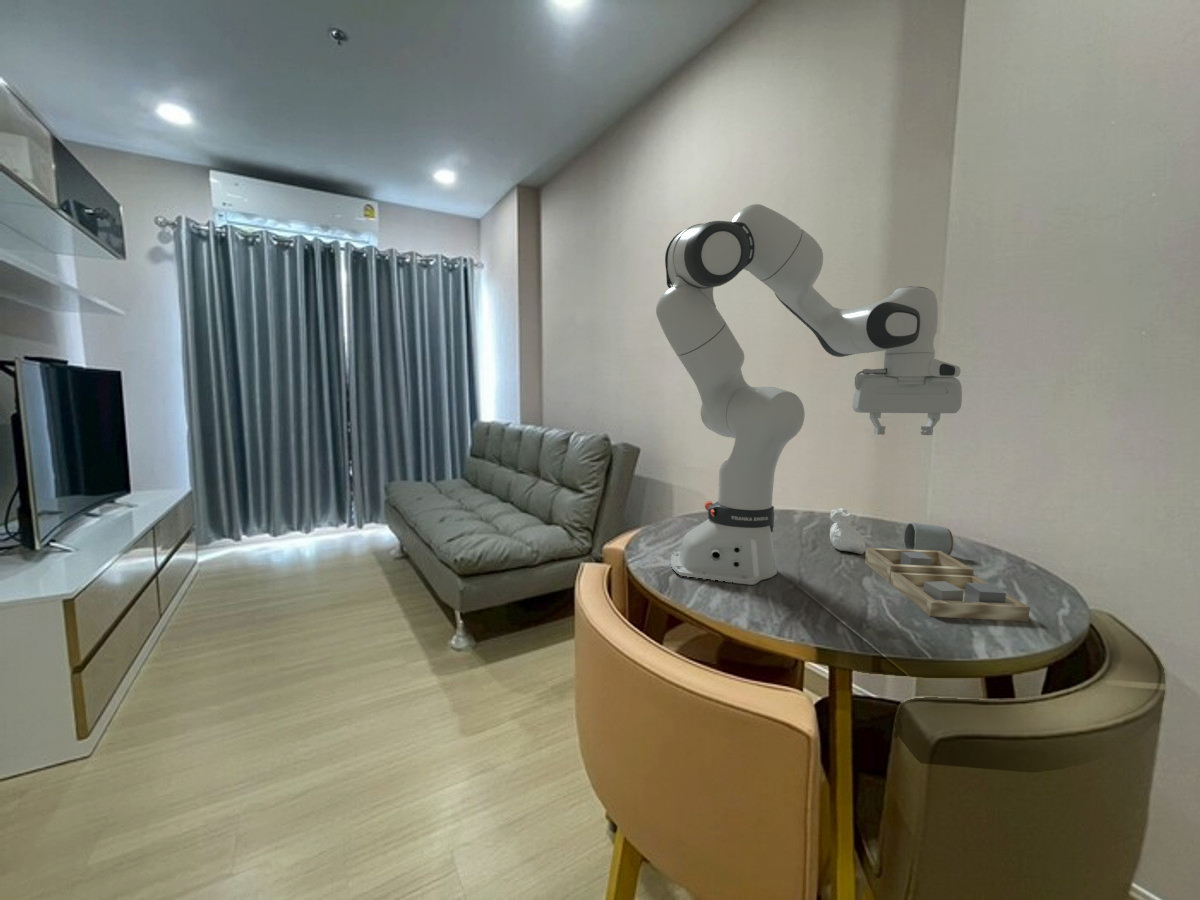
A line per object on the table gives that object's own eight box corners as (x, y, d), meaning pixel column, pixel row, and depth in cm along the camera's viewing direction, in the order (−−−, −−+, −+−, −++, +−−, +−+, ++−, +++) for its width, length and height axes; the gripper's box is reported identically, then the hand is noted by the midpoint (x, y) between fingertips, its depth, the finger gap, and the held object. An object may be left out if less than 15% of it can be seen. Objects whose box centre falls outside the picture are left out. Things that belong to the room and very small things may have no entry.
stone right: (977, 614, 83) (979, 591, 82) (963, 603, 87) (965, 582, 86) (1003, 615, 82) (1006, 593, 82) (988, 605, 86) (990, 583, 86)
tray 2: (929, 619, 82) (931, 602, 82) (889, 586, 96) (890, 571, 96) (1028, 624, 80) (1030, 607, 80) (972, 589, 94) (974, 575, 94)
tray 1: (889, 585, 96) (890, 566, 96) (864, 565, 107) (866, 547, 107) (971, 589, 95) (973, 569, 94) (938, 568, 106) (940, 550, 105)
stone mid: (909, 576, 99) (910, 557, 99) (899, 569, 103) (901, 551, 103) (930, 577, 99) (932, 558, 98) (919, 570, 103) (921, 552, 102)
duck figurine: (831, 550, 124) (806, 516, 123) (855, 532, 124) (830, 498, 123) (856, 567, 113) (829, 529, 111) (883, 547, 112) (856, 510, 111)
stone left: (939, 613, 83) (941, 591, 83) (922, 603, 87) (924, 581, 86) (961, 612, 83) (963, 590, 83) (943, 602, 87) (945, 581, 87)
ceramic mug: (954, 562, 110) (957, 529, 109) (913, 559, 111) (916, 526, 111) (934, 548, 120) (936, 518, 119) (897, 545, 122) (899, 515, 121)
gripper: (862, 368, 99) (857, 435, 101) (969, 367, 97) (963, 436, 99) (849, 369, 106) (845, 432, 107) (950, 369, 103) (944, 433, 105)
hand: (902, 434), depth 103 cm, fingers open, 8 cm apart
